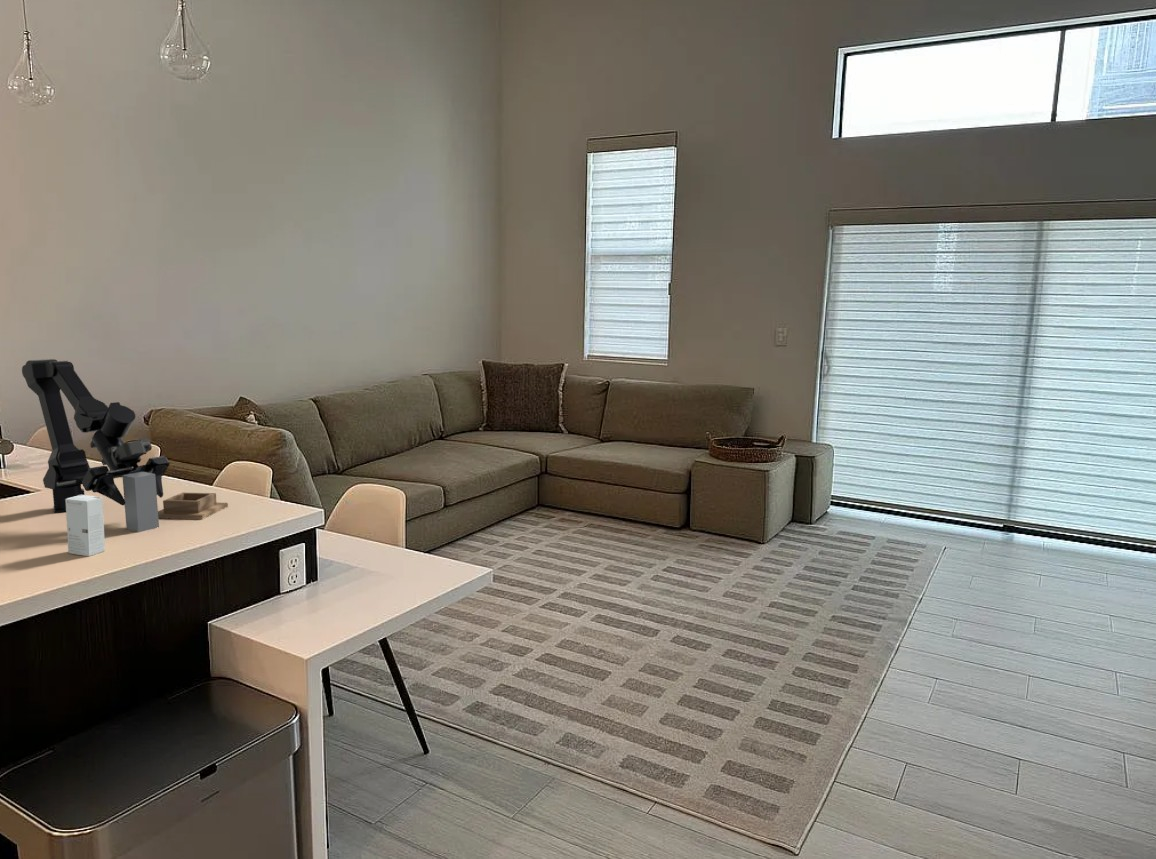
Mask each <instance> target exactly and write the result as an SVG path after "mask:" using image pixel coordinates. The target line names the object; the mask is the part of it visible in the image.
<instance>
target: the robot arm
mask: <svg viewBox="0 0 1156 859" xmlns="http://www.w3.org/2000/svg"><path fill="white" fill-rule="evenodd" d="M21 373H22V376H23V378H24V379H25V382H26V384H27V387H28V388H29V389H30V390H31V391H32V392H33V393H34V394H36V395H37V397H38V401H39V405H40V408H41V411H42V416H43V419H44V423H45V427H46V430H47V435H48V438H49V442H50V445H51V452H50V456H49V458H48V460H47V465H48V468H47V470H46V473H45V475H44V477H43V479H42V482H43V486H44V488H46V489H50V490H52V499H53V506H52V507H53V513H63V512H66V500H65V499H67V498H70V497H74V496H78V495H86V494H85V491H87V492H90V491H92V493H98V494H100V495H102V496H104V497H106V498H109V499H110V500H112V501H113V502H115V503H118V504H119V505H120V506H125V500H124V495H122V493H121V491H120V490H119V487H118V486H117V485H116V483H115V480H114V479H119V478H121V479H123V477H122V475H127V474H133V473H139V472H147V473H152V474H155V477H156V491H157V497H159V499H160V498H163V497H164V489H163V482H162V481H163V480H162V477H163V476H164V474H165V472H166V471H167V469H168V468H169V466H170V465H171V463H170V461H169V460H168V458H167V457H166V456H162V455H161V456H156V457H155V456H154V457H149V458H148V459H147V461H146V462H145V464H142V465H139V464H138V463H140V462H141V461H142V458H141V457H142V456H143V455H146V454H148V452H149V451H151V450H152V447H153V446H152V443H151V442H150V440H149V439H148V437H144V438H139V439H138V440H137V441H130V442H125V441H124V439H123V438H124V437H125V436H126V435H127V434H128V433H129V431H130V429H131V427H132V425H133V423H134V421H135V420H136V413H135V411H134V410H132V409H131V408H129V407H128V406H125V405H122V404H121V403H120V402H119V401H115V402H114V401H113V402H110V403H109V405H106V404H105V402H103V401H101V400H99V399H97V398H95V397H94V396H93V395H92V393H91V392H90V391H89V389H88V388H87V386H86V385H85V384H84V382H83V381H82V379H81V377H80V376H79V375H78V374H77V372H76V371H75V368H74V364H73V362H72V361H68V360H59V361H58V360H57V359H55V358H53V359H52V358H51V359H35V360H34V359H33V360H27V361H26V363H24V365H23V366H22V367H21ZM61 392H62V394H63V395H64V396H65V397H66V399H67V401H68V402H69V404H70V405H71V407H72V408H73V410H74V415H73V419H74V421H75V424H76V427H77V428H78V429H79V430H80V432H82V433H83V434H84V433H87V434H88V433H94V434H93V436H91V441H90V446H89V447H90V448H91V449H95V448H96V449H97V451H98V452H99V454H100V456H101V458H102V460H101V464H102V465H101V466H100V465H99V466H94V467H90V464H89V462H88V459H87V455H86V451H85V450H84V449H79V448H78V447H77V446H76V445H75V443H74V439H73V436H72V432H71V428H70V424H69V421H68V418H67V413H66V409H65V405H64V402H63V398H62V394H61Z"/></svg>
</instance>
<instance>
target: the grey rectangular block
mask: <svg viewBox="0 0 1156 859" xmlns="http://www.w3.org/2000/svg"><path fill="white" fill-rule="evenodd" d="M122 487H123V488H122V489H123V498H124V500H125V505H124V514H125V527H126V530H130V531H133V532H138V533H140V532H145V531H149V530H154V529H158V528H160V522H159V518H158V511H159V506H158V495H157V491H156V477H155V474H152V473H147V472H139V473H133V474H127V475H122ZM157 527H158V528H157Z"/></svg>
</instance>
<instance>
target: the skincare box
mask: <svg viewBox="0 0 1156 859" xmlns="http://www.w3.org/2000/svg"><path fill="white" fill-rule="evenodd" d="M65 500H66V511H65V513H66V514H65V515H66V516H65V517H66V533H67V549H68V550H67V552H68V553H69V554H72V555H76V556H77V555H78V556H85V557H91V556H94V555H98V554H100V553H103V552H105V551H106V546H105V542H106V541H105V523H104V522H105V521H104V500H103V497H102V496H96V495H87V494H85V495H78V496H74V497H70V498H67V499H65Z"/></svg>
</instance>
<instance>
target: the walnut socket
mask: <svg viewBox="0 0 1156 859" xmlns="http://www.w3.org/2000/svg"><path fill="white" fill-rule="evenodd" d="M162 505H163V509H160V510H158V519H168V518H183V519H182V520H204V519H206V518H208V517H210V516H212V515H214V514H216V513H218V512H219V510H220V511H222V510H224V509H225V507H226V508H228V507H229V503H228V502H217V493H215V492H214V493H213V492H212V493H211V492H181V493H178V494H176V495H174V496H171V497H169V498H167V499H163V501H162ZM221 509H222V510H221ZM217 511H218V512H217ZM215 512H216V513H215ZM213 513H214V514H213ZM211 514H212V515H211ZM209 515H210V516H209ZM207 516H208V517H207ZM205 517H206V518H205ZM203 518H204V519H203Z"/></svg>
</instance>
